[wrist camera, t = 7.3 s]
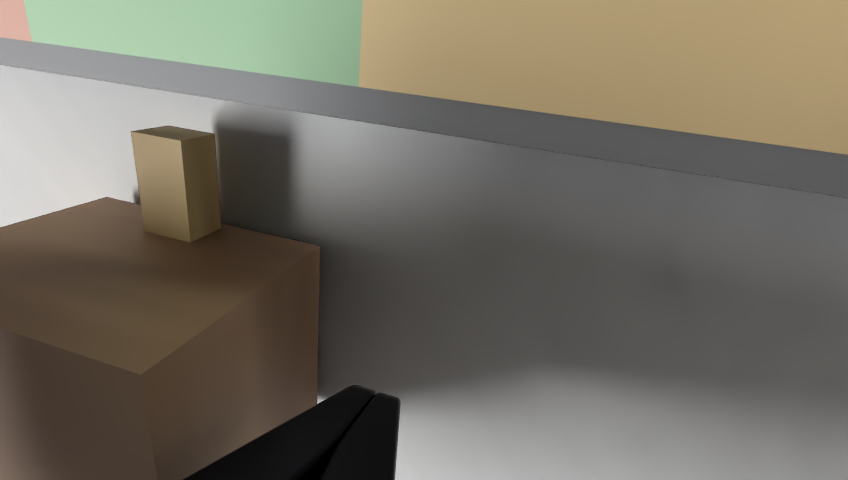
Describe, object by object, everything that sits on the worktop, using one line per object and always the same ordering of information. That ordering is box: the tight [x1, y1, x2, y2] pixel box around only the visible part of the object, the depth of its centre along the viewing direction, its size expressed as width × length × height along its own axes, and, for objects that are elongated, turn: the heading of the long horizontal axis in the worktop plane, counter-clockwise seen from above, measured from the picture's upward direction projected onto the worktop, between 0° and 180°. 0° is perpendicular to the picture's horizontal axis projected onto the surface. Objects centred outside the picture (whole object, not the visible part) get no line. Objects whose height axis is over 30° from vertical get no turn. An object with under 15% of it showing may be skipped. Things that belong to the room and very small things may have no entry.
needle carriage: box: [0, 126, 320, 480], centre depth 8 cm, size 5×6×4 cm
